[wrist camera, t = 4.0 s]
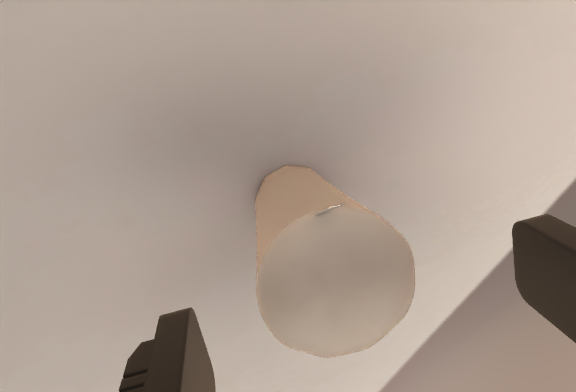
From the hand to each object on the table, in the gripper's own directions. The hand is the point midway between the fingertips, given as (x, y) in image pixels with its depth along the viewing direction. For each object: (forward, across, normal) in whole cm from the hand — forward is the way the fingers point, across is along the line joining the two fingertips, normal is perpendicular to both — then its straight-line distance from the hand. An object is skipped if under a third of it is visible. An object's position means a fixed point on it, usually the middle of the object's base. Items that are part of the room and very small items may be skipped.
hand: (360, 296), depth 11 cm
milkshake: (+10, 0, 0) cm, 10 cm away
